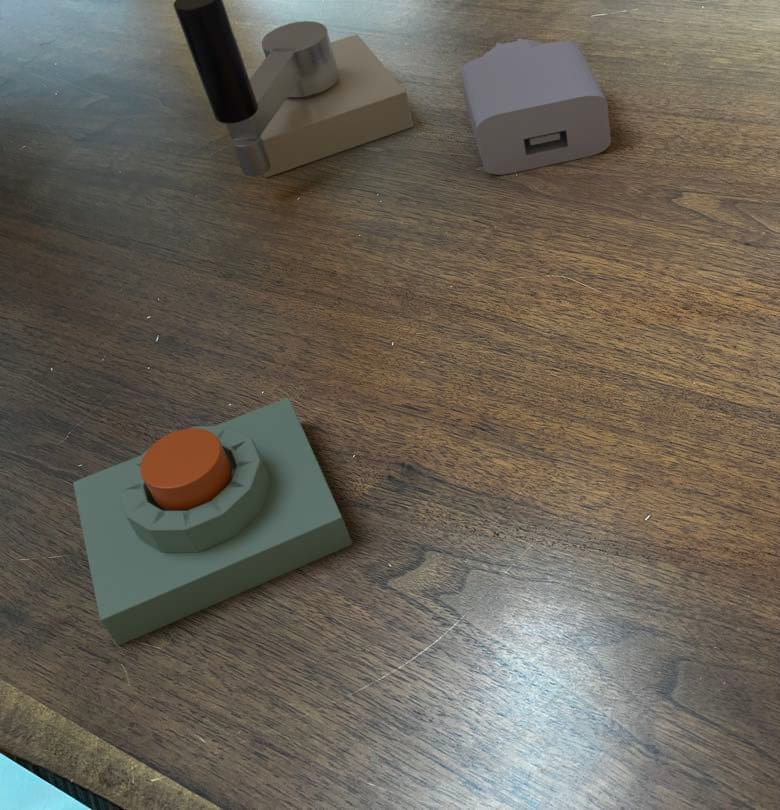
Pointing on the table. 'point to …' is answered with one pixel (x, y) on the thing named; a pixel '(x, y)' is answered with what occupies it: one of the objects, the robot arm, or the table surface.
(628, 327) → the table surface
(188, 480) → the button
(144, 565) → the button box
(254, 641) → the table surface
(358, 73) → the crank base
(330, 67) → the crank handle
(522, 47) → the charger
